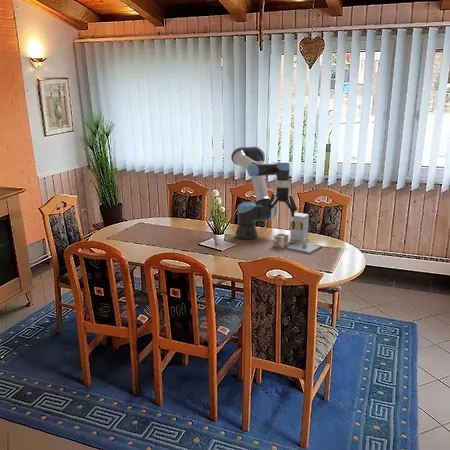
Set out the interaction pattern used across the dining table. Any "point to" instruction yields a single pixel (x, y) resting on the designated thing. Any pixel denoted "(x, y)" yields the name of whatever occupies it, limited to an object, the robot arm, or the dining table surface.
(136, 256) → the dining table surface
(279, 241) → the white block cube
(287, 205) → the robot arm
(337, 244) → the dining table surface
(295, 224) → the supplement box
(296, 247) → the shaft plate
